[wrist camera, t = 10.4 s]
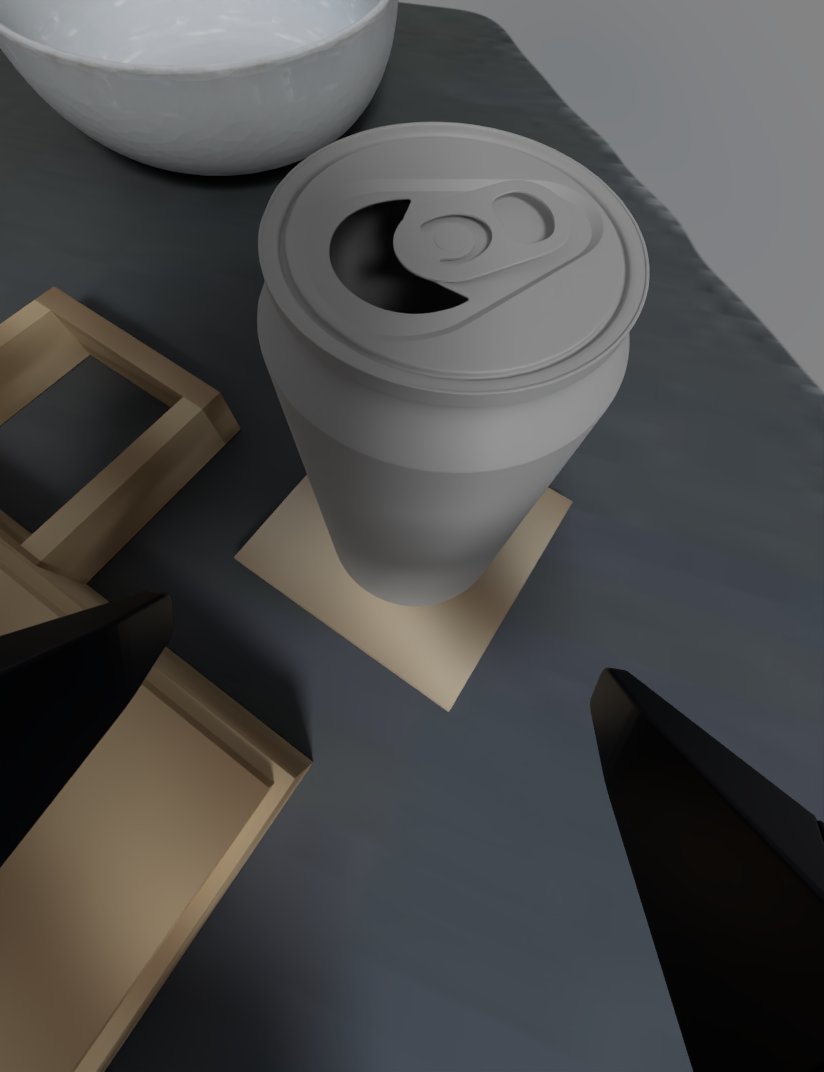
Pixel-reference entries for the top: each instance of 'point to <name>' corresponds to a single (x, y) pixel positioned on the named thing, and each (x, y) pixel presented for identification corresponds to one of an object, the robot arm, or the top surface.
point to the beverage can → (442, 338)
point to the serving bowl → (203, 74)
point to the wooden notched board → (120, 735)
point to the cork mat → (390, 629)
